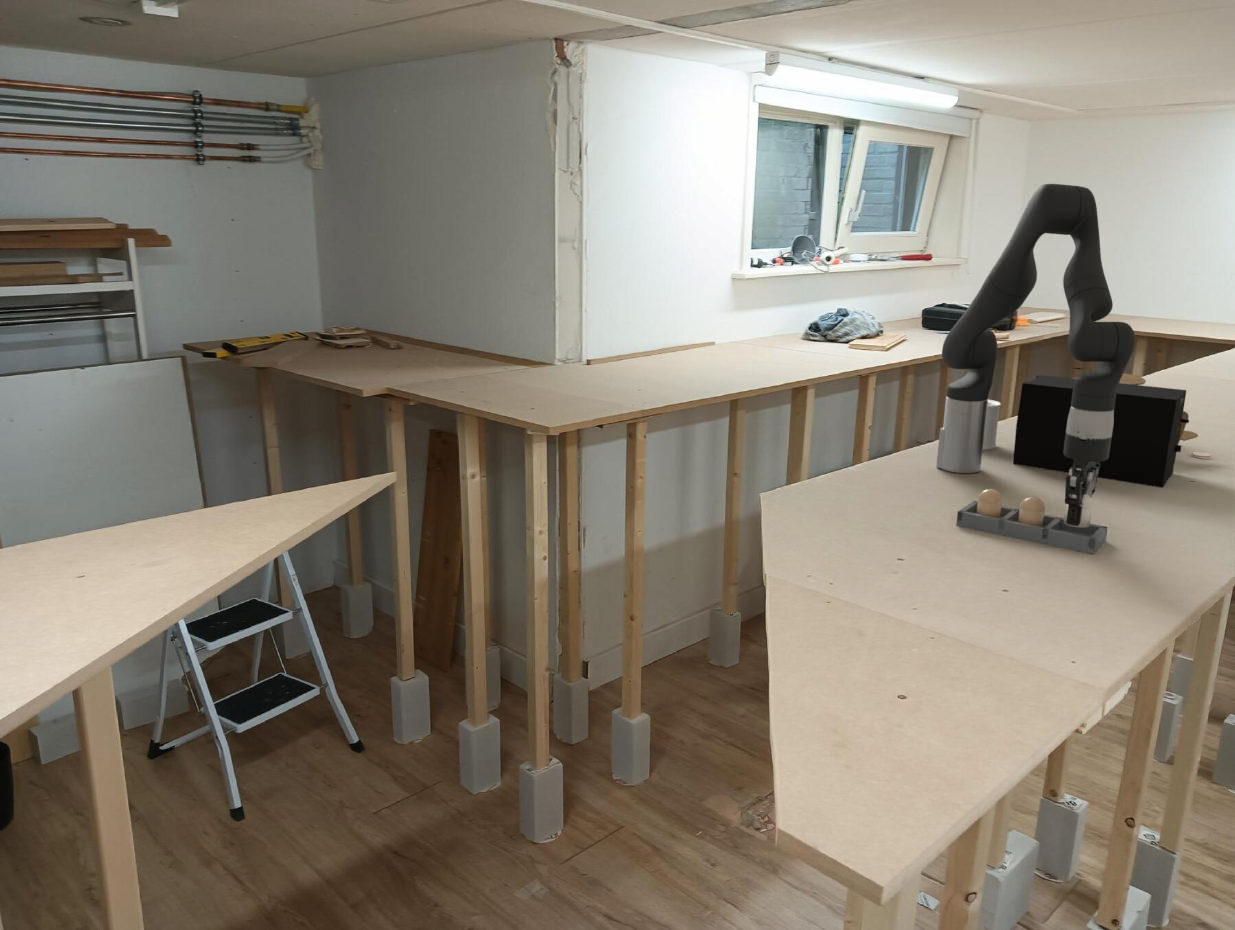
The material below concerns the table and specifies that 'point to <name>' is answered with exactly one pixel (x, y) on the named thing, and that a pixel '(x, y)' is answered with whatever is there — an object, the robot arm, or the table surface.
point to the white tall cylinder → (991, 425)
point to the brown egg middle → (1032, 511)
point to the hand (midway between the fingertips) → (1076, 520)
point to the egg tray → (1035, 529)
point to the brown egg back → (989, 503)
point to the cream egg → (1085, 512)
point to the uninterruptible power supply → (1137, 436)
